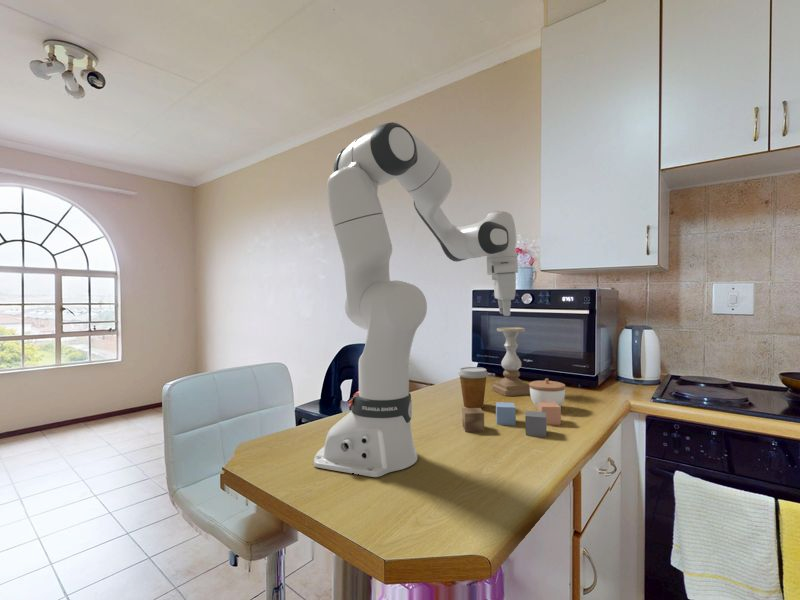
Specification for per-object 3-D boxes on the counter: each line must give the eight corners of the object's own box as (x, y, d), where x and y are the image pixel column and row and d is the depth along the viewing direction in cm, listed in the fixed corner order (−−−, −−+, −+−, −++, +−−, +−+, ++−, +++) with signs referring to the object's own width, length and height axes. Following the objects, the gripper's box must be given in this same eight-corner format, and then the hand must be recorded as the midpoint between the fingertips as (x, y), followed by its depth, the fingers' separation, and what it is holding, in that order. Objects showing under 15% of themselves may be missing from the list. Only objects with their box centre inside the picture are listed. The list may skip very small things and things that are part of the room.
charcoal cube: (525, 435, 99) (525, 415, 99) (525, 429, 104) (525, 410, 104) (546, 437, 97) (546, 417, 97) (545, 431, 102) (545, 412, 102)
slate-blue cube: (497, 424, 108) (496, 406, 108) (496, 419, 113) (495, 402, 113) (515, 425, 107) (515, 407, 107) (513, 420, 112) (513, 402, 112)
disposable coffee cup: (478, 400, 133) (478, 365, 133) (494, 408, 124) (493, 370, 124) (453, 403, 130) (453, 367, 130) (467, 411, 121) (466, 372, 121)
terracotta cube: (542, 424, 107) (541, 406, 107) (537, 419, 112) (537, 402, 112) (561, 425, 107) (560, 406, 107) (555, 419, 112) (555, 402, 112)
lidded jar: (572, 409, 121) (572, 379, 121) (552, 415, 115) (551, 383, 115) (543, 402, 130) (542, 374, 130) (522, 407, 124) (522, 378, 124)
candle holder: (505, 396, 138) (504, 329, 139) (491, 389, 149) (490, 327, 149) (533, 394, 141) (532, 328, 141) (517, 387, 152) (516, 326, 152)
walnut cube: (465, 432, 102) (464, 413, 102) (462, 426, 107) (462, 408, 107) (484, 432, 102) (484, 413, 102) (480, 426, 107) (480, 407, 107)
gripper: (488, 270, 125) (490, 313, 126) (494, 266, 105) (497, 317, 105) (508, 269, 125) (510, 312, 125) (518, 265, 104) (521, 316, 105)
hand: (504, 314), depth 115 cm, fingers open, 8 cm apart
